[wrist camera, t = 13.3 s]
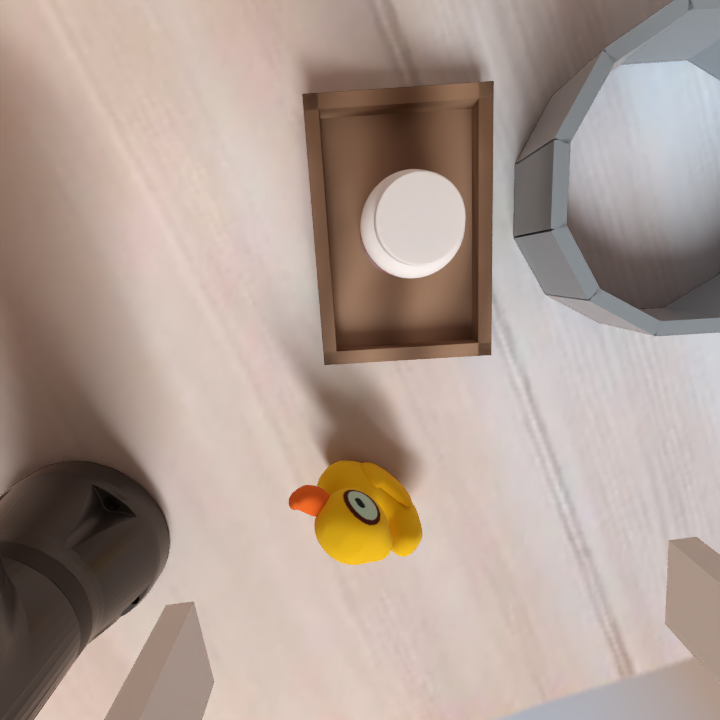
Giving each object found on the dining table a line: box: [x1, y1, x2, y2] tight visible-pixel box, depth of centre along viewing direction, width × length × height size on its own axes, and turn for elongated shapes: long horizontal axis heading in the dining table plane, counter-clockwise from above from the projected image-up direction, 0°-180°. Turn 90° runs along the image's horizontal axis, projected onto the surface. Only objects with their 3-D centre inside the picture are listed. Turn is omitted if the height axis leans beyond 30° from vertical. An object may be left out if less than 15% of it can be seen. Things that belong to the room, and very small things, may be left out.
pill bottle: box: [360, 169, 466, 278], centre depth 26 cm, size 6×6×11 cm
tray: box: [303, 81, 494, 365], centre depth 31 cm, size 13×19×3 cm
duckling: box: [289, 461, 422, 565], centre depth 32 cm, size 11×5×10 cm, turn 57°
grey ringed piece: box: [513, 0, 720, 336], centre depth 29 cm, size 20×20×6 cm
